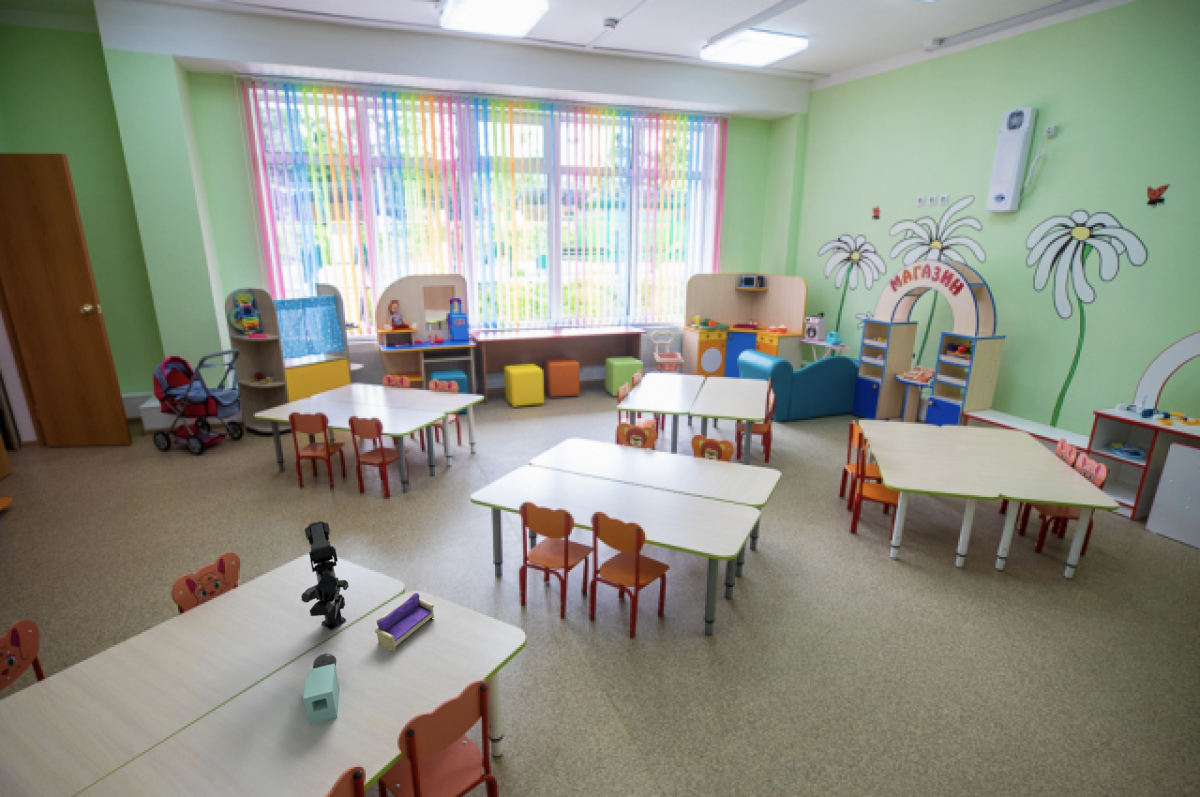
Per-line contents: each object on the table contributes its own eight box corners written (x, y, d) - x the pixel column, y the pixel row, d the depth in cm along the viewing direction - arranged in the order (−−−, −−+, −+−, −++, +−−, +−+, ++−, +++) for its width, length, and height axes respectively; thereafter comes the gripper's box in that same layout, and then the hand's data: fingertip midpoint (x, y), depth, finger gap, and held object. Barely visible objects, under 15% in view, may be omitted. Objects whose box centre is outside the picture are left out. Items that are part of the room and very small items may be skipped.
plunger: (315, 673, 192) (311, 656, 190) (337, 667, 195) (334, 651, 192) (311, 702, 181) (307, 684, 179) (335, 695, 183) (332, 678, 181)
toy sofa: (392, 653, 205) (389, 630, 202) (376, 644, 209) (372, 621, 206) (436, 618, 222) (433, 596, 219) (420, 611, 227) (417, 589, 223)
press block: (312, 695, 187) (307, 669, 184) (339, 688, 190) (334, 663, 187) (308, 725, 177) (303, 698, 173) (337, 717, 179) (332, 691, 176)
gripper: (314, 567, 209) (322, 606, 212) (290, 595, 191) (298, 636, 194) (345, 565, 209) (352, 603, 213) (324, 592, 191) (331, 634, 195)
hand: (333, 618), depth 204 cm, fingers closed
